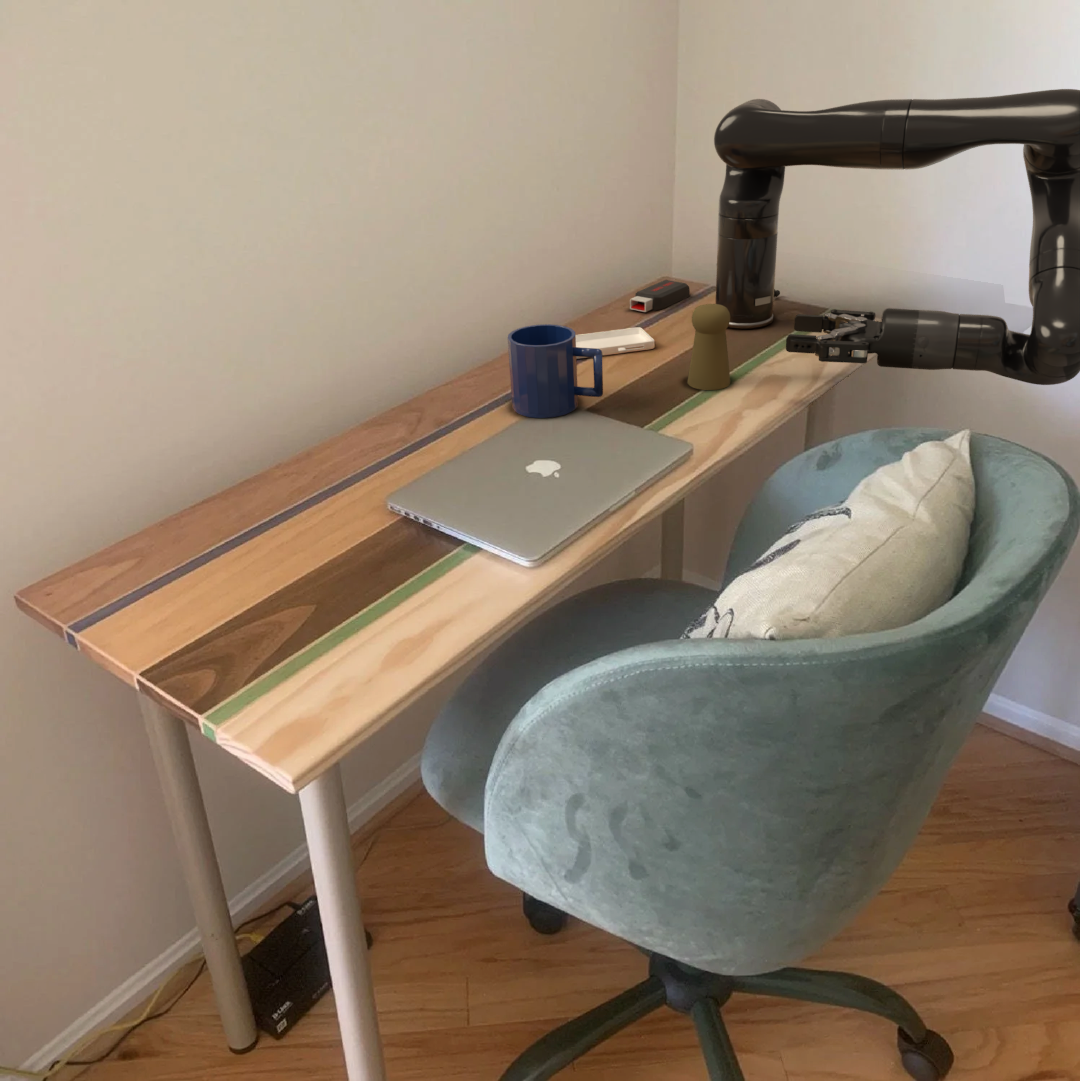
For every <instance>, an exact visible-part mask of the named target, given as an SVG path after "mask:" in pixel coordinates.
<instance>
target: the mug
mask: <svg viewBox="0 0 1080 1081" xmlns="http://www.w3.org/2000/svg"><path fill="white" fill-rule="evenodd" d="M576 335H577V333H576V331H575V330H574V329H573V328H571V327H568V326H566V325H561V324H553V323H552V324H551V323H548V324H547V323H545V324H544V323H543V324H542V323H541V324H532V325H525V326H522V327H519V328H517V329H514V330H512V331H511V332H510V333H508V335H507V350H508V364H509V379H510V380H509V381H510V393H511V405H512V410H513V411H514V412H515V413H516V414H518V415H520V416H523V417H526V418H533V419H549V418H550V419H551V418H557V417H561V416H565V415H568V414H570V413H572V412H574V411H575V410H576V409H577V408H578V405H579V396H580V397H592V398H593V397H594V398H601V397H602V396H603V395H604V375H603V373H604V370H603V368H604V367H603V356H602V351H601V350H600V349H595V348H581V347H576ZM576 356H577V357H587V358H590V359H591V358H592V362H593V364H592V367H593V369H592V370H593V386H592V387H590V386H579V385H578V364H577V363H578V362H577V360H578V359H576Z"/></svg>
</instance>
